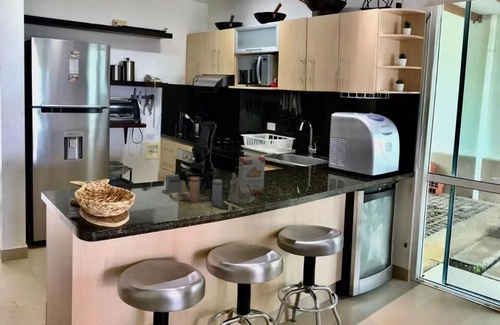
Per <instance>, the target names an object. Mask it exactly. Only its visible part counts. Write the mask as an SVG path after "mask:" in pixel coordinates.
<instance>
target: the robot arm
mask: <svg viewBox="0 0 500 325" xmlns="http://www.w3.org/2000/svg"><path fill="white" fill-rule="evenodd" d="M200 129H201V132H200V135H199V141H198V142H196V144H195V145H194V146H193V147H192V148H191V153H192V157H193V159H194V161H193V162H190V172H191V173H190V172H188V171H187V170H182V169H181V170H179V171H178V173H177V175H179V179H180V180H182V182H184V183H185V189H186V190H188V188H189V185H190V179H189V178H190V177H191V176H199V177H200V182H199V188H200V190H201V191H203V190H205V189H212V187H213V184H212V182H213V180H214V179H216V174H215V173H216V172H215V169H214V165H213V163H212V161H211V160H212V159H211V158H212V144H213V142H212V141H213V136H214V135H215V133H216V130H217V123H215V121H205V120H204V121H203V122H200Z"/></svg>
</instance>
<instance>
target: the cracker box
mask: <svg viewBox="0 0 500 325" xmlns="http://www.w3.org/2000/svg"><path fill="white" fill-rule="evenodd" d="M238 160H239V161H238V177H237V178H238V179H240V182H244V181H247V184H252V185H253V188H254V190H253V191H254V194H264V187H265V186H264V184H265V167H266V166H265V165H266V157H264V156H261V155H258V156H256V155H255V156H239V158H238Z"/></svg>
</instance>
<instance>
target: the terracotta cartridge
mask: <svg viewBox="0 0 500 325" xmlns="http://www.w3.org/2000/svg"><path fill="white" fill-rule="evenodd" d="M200 180H201V178H200V177H199V176H191V177H189V192H190V200H189V202H190V203H194V204H195V203H199V202H200Z"/></svg>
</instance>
